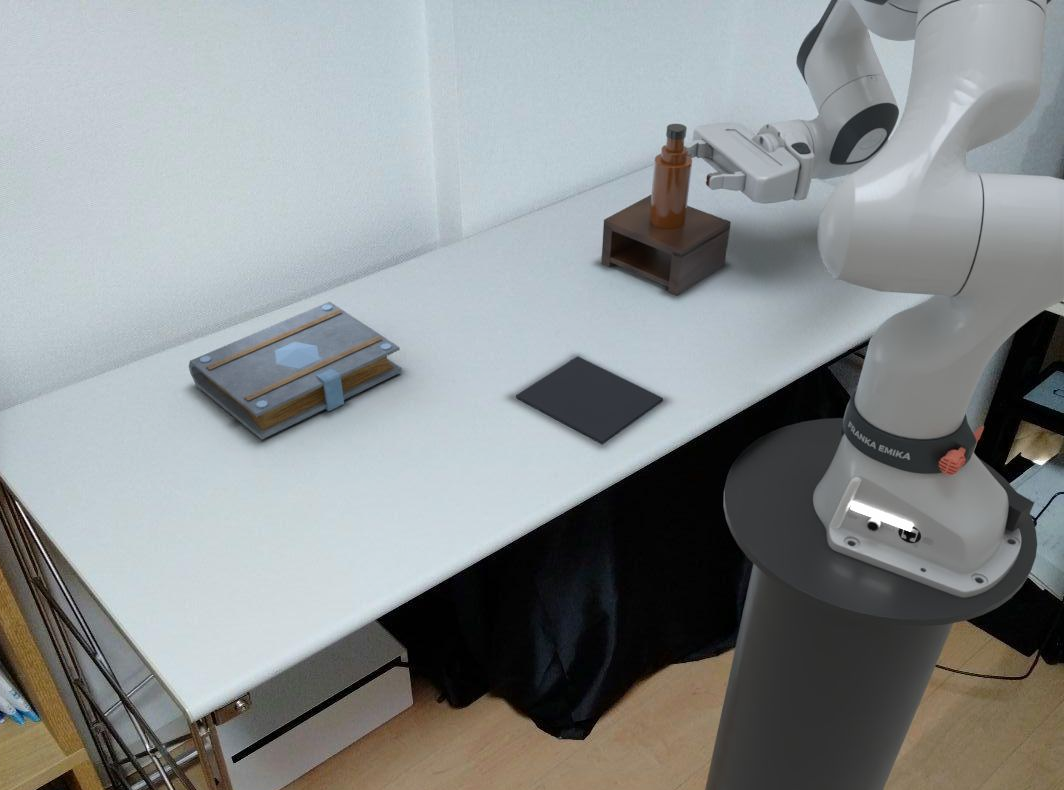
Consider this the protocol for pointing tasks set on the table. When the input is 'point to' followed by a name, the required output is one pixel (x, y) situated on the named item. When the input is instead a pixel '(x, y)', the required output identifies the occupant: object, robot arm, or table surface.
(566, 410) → the mat
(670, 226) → the bottle
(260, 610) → the table surface
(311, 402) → the book
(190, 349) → the table surface
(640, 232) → the shelf
